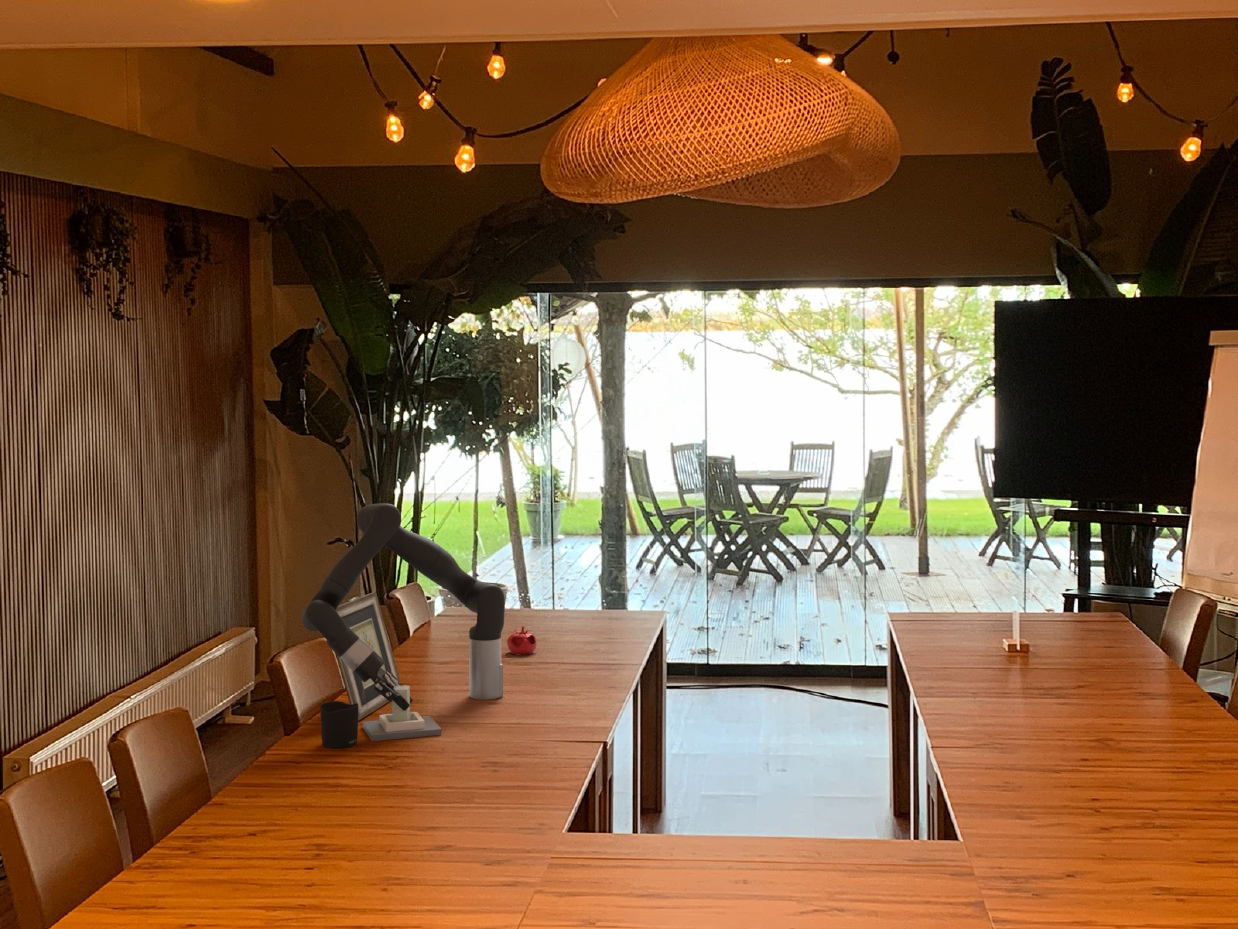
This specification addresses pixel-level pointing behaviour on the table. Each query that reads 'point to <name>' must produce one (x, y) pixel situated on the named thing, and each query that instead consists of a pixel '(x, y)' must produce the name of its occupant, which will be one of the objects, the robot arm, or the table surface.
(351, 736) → the pen holder
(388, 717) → the grey base with frame
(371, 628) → the picture frame
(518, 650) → the pomegranate
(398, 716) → the sage block
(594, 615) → the table surface
